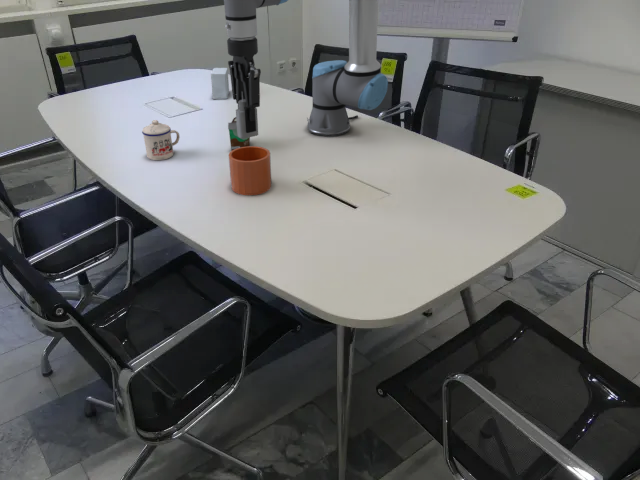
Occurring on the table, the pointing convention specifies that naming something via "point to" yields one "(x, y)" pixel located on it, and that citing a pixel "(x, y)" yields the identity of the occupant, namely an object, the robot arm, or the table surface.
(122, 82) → the table surface
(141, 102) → the table surface
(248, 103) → the robot arm
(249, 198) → the table surface
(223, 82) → the cosmetics box
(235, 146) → the food container
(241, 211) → the table surface
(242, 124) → the power adapter
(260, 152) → the orange flower pot
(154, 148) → the teacup with lid
